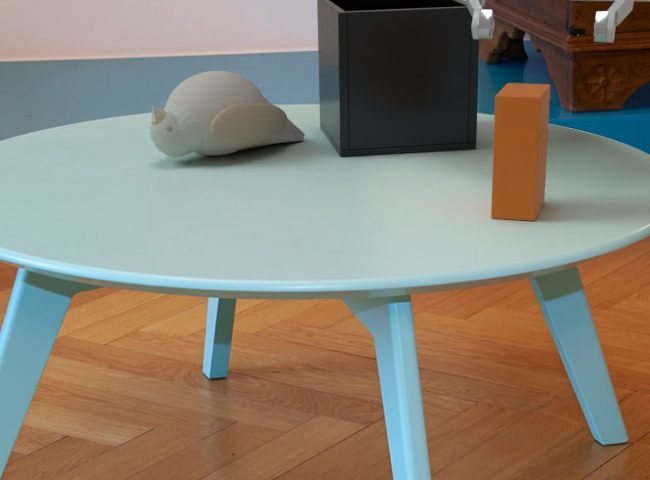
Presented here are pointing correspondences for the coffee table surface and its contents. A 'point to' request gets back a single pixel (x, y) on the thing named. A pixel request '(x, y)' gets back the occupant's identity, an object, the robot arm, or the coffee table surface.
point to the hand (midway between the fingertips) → (541, 36)
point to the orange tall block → (520, 151)
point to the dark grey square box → (397, 76)
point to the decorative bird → (218, 117)
